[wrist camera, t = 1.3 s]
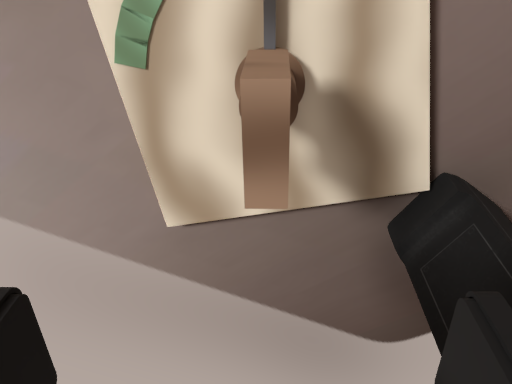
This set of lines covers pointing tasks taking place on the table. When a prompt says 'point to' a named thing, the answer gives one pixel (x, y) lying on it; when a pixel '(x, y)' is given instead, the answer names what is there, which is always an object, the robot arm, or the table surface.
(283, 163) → the tuning peg
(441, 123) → the table surface
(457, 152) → the table surface
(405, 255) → the portable radio
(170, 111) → the dial board
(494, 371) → the robot arm
